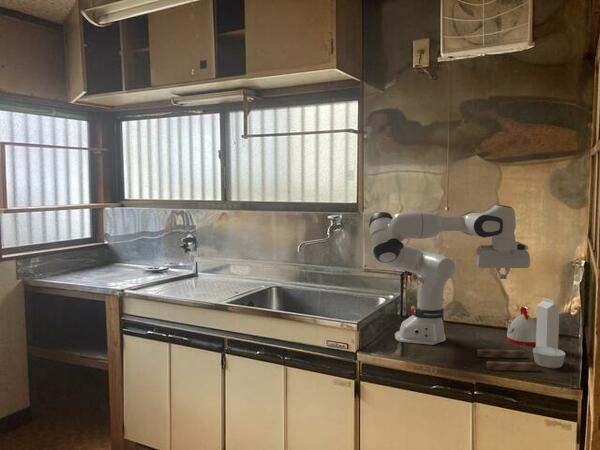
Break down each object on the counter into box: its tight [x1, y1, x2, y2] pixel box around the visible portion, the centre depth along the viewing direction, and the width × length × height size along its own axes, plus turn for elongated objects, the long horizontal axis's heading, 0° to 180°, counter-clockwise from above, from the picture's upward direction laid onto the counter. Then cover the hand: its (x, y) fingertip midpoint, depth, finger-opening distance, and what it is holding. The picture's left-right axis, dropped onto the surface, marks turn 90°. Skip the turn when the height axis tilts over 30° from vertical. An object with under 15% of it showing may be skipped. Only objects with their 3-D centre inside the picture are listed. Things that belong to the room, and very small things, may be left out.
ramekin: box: [532, 346, 566, 369], centre depth 192 cm, size 11×11×5 cm
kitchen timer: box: [506, 306, 537, 347], centre depth 220 cm, size 14×14×15 cm
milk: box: [535, 297, 560, 349], centre depth 206 cm, size 6×6×22 cm
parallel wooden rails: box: [476, 348, 539, 372], centre depth 193 cm, size 18×16×2 cm
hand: (502, 278), depth 202 cm, fingers closed
